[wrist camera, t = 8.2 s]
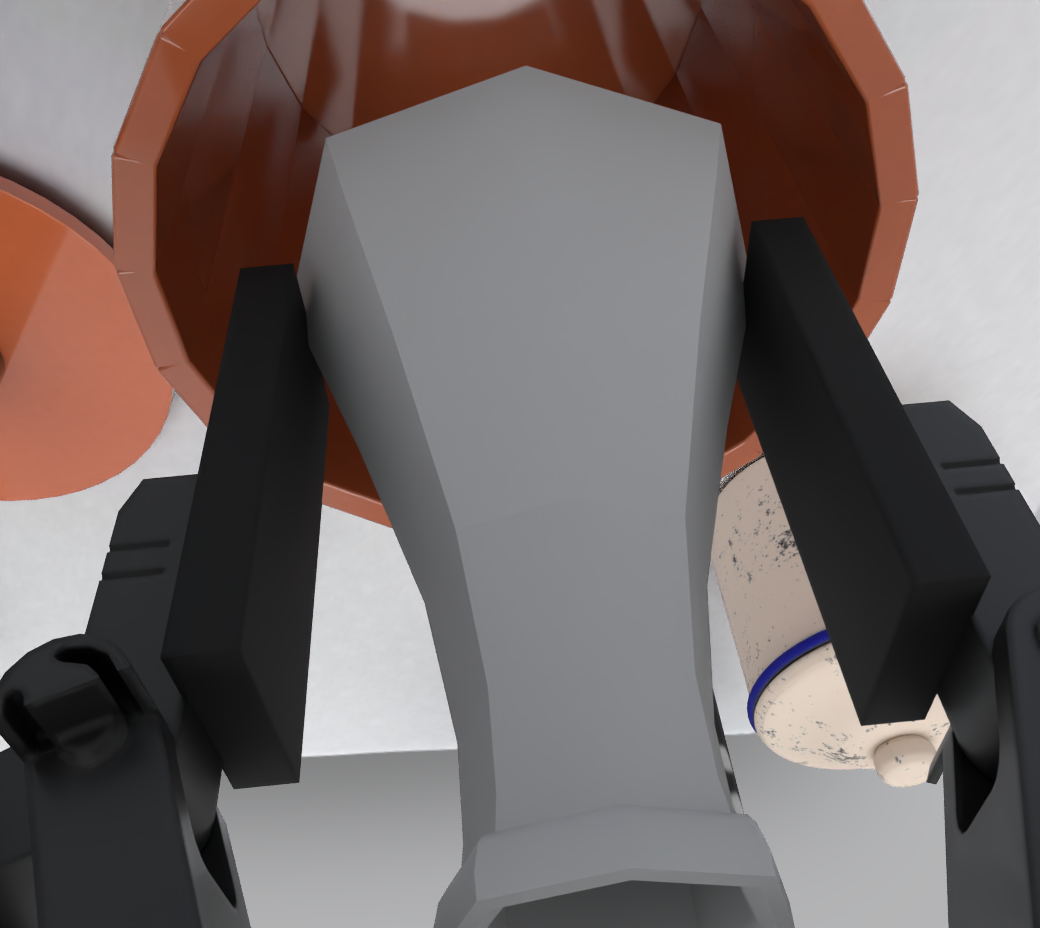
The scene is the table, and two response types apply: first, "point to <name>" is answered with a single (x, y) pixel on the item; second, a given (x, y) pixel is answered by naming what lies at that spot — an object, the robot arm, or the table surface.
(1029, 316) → the table surface
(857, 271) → the canister
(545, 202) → the flask
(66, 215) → the lid
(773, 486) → the teacup with lid
